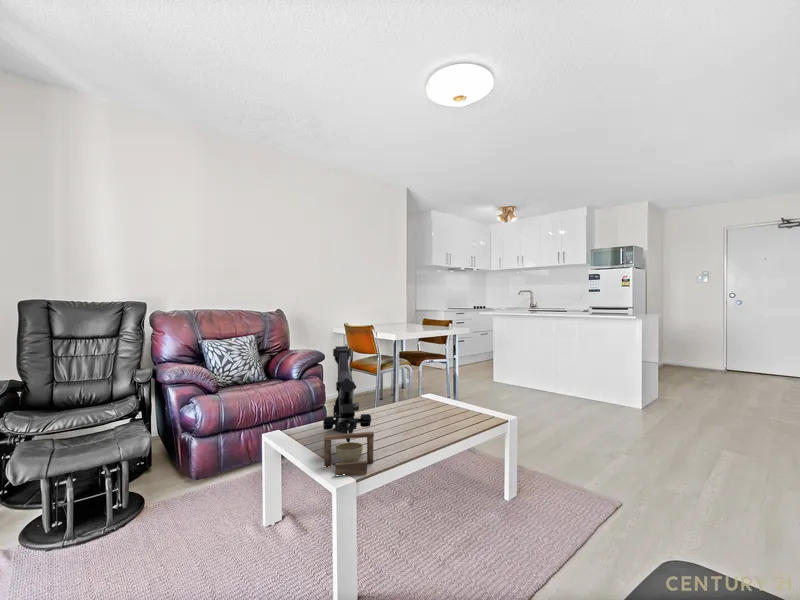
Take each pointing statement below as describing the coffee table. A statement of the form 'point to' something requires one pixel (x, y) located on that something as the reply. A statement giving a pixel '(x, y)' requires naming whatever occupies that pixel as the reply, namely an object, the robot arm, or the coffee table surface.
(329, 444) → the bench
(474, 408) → the coffee table surface
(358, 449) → the flower pot
